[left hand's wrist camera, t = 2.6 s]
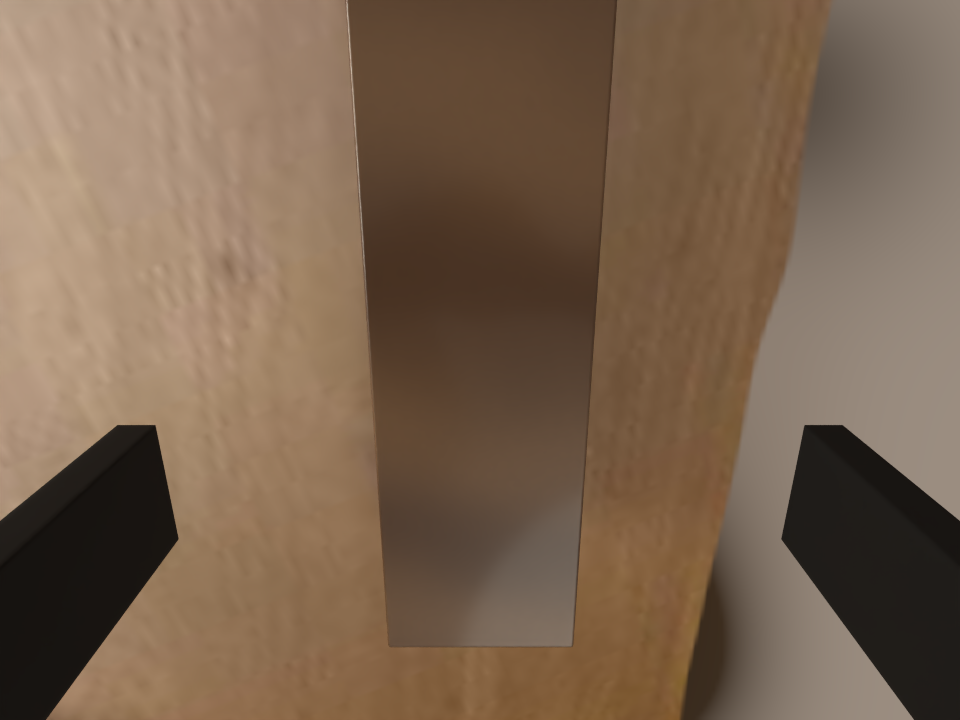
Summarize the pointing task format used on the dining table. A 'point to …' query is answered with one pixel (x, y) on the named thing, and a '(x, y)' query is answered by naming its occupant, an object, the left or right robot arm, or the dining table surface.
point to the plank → (481, 302)
